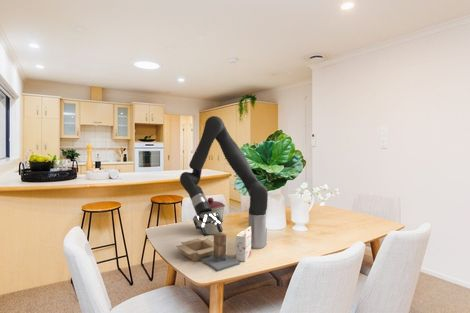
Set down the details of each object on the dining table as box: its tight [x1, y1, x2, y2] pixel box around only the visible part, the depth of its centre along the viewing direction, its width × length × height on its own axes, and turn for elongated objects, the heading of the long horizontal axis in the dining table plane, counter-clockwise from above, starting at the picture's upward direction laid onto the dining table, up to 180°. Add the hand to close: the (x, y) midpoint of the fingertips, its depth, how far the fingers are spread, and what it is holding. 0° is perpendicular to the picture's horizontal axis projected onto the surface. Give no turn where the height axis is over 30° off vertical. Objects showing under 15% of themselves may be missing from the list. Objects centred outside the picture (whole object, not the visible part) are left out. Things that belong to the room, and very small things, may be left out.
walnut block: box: [213, 231, 227, 262], centre depth 124 cm, size 4×4×12 cm
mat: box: [199, 254, 241, 272], centre depth 124 cm, size 12×14×1 cm
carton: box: [176, 238, 214, 262], centre depth 133 cm, size 18×18×4 cm
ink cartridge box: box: [235, 226, 252, 263], centre depth 130 cm, size 9×5×15 cm, turn 158°
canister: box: [198, 197, 226, 235], centre depth 167 cm, size 18×18×21 cm
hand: (213, 233), depth 128 cm, fingers open, 8 cm apart
